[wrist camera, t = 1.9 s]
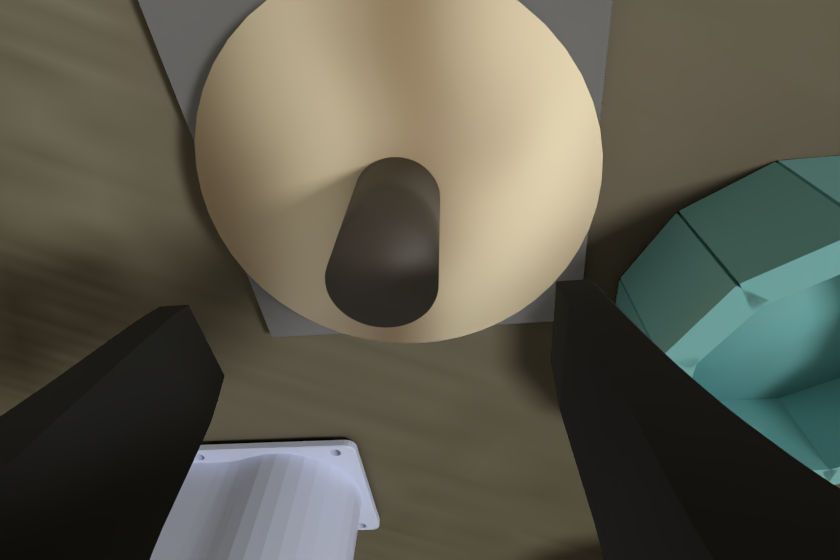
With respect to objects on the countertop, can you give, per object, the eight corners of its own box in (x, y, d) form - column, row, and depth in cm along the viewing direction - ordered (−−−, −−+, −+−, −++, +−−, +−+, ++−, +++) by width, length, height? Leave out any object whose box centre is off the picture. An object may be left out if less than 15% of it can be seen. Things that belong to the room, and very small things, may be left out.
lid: (271, 337, 19) (223, 450, 15) (135, -9, 12) (-27, 22, 8) (578, 319, 18) (619, 438, 14) (620, -75, 11) (728, -78, 7)
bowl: (598, 407, 21) (626, 491, 18) (636, 172, 15) (689, 239, 12) (870, 396, 20) (951, 484, 17) (1039, 137, 14) (1219, 201, 11)
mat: (274, 330, 20) (271, 337, 19) (142, -11, 13) (134, -9, 12) (576, 312, 18) (579, 319, 18) (615, -75, 11) (620, -75, 11)
